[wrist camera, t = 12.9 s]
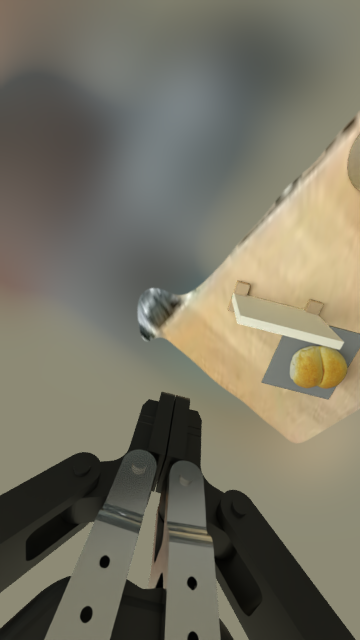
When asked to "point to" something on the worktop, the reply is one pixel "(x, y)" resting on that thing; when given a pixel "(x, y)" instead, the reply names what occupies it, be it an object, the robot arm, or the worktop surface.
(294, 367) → the bread roll
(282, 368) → the mat
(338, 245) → the worktop surface
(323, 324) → the screen
